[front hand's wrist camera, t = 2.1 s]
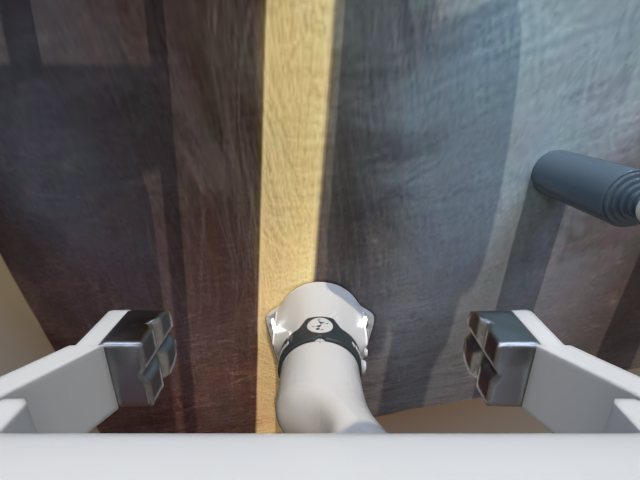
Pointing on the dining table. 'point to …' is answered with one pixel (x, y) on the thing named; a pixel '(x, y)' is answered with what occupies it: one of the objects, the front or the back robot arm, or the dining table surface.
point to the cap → (638, 211)
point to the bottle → (590, 185)
